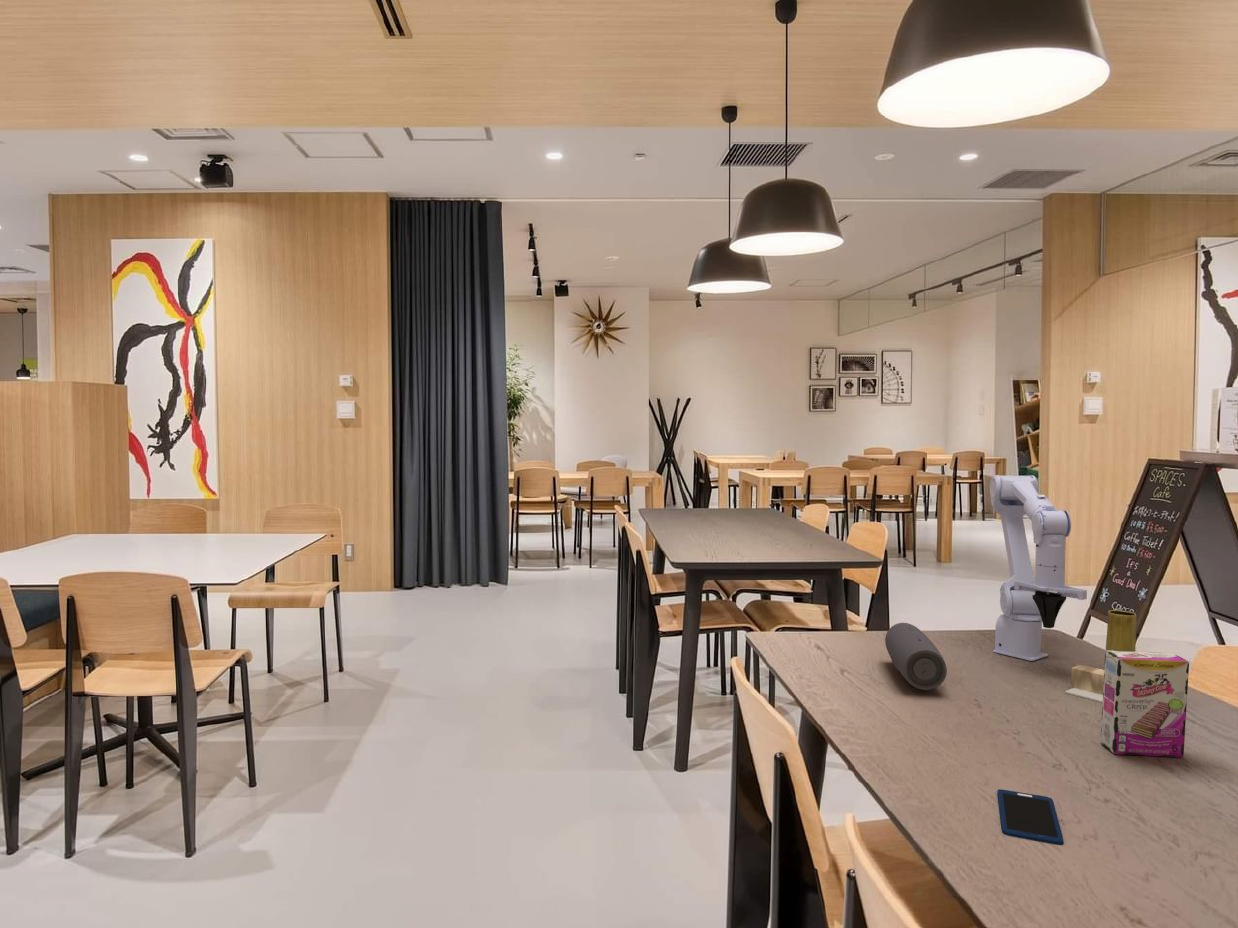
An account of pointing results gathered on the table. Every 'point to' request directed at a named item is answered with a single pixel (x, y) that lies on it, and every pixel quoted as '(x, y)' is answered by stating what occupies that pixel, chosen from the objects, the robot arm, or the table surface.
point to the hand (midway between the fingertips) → (1048, 627)
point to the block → (1087, 679)
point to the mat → (1085, 694)
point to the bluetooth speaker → (915, 656)
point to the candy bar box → (1144, 703)
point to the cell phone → (1029, 817)
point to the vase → (1121, 631)
